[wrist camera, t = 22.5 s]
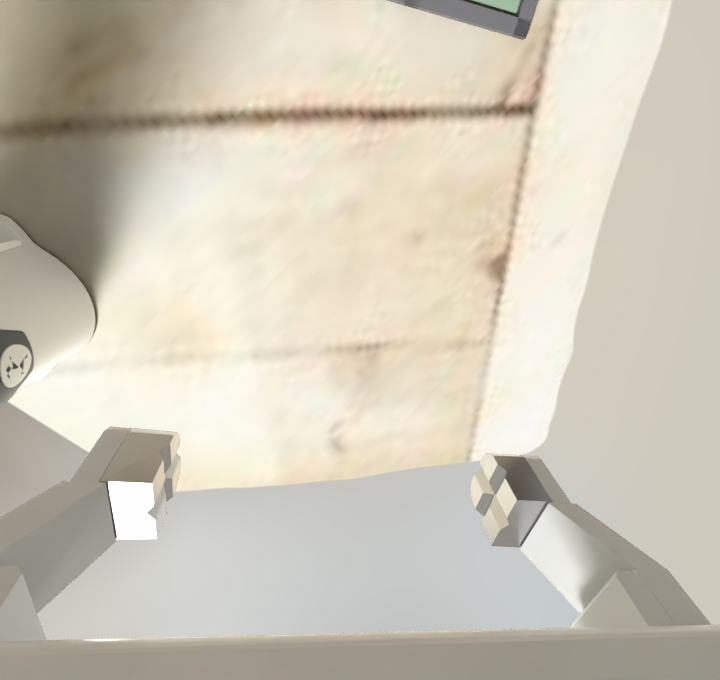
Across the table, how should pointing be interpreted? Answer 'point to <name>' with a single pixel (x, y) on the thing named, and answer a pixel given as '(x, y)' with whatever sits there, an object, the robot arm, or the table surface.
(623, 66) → the table surface
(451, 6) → the game track
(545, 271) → the table surface
